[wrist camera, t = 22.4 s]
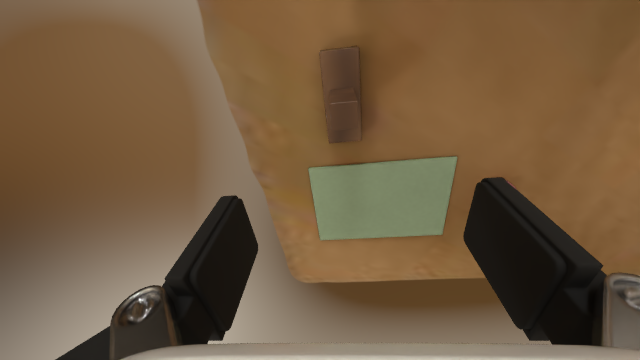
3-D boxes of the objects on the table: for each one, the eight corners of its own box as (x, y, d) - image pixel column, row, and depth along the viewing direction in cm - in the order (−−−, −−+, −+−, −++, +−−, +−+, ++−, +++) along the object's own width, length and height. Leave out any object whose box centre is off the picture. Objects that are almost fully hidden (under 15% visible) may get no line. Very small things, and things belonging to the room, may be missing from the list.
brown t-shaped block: (329, 135, 32) (327, 166, 25) (320, 50, 27) (314, 57, 19) (360, 133, 31) (367, 163, 24) (357, 45, 26) (365, 51, 19)
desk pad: (456, 155, 32) (457, 157, 32) (441, 233, 39) (442, 234, 39) (308, 167, 34) (308, 169, 34) (320, 238, 42) (320, 240, 41)
